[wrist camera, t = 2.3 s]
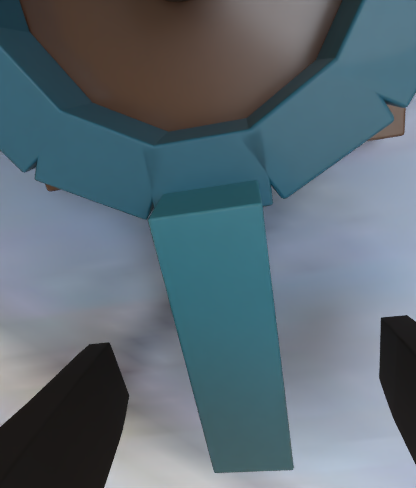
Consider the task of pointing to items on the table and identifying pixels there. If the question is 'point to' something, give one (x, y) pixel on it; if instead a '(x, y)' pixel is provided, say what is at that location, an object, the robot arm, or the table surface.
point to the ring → (214, 196)
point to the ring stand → (185, 54)
